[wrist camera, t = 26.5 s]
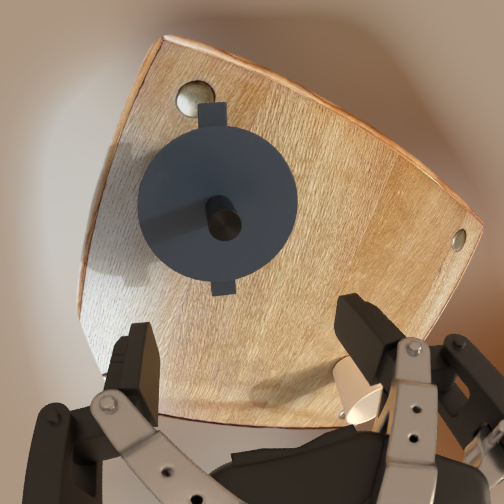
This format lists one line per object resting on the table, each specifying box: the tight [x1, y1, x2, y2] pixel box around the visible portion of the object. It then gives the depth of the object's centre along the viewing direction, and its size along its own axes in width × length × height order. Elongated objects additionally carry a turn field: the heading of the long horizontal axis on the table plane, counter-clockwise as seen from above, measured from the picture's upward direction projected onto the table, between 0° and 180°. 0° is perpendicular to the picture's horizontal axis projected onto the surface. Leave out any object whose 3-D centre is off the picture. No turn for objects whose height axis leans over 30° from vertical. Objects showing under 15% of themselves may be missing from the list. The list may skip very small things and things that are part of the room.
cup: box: [333, 356, 383, 424], centre depth 45 cm, size 10×10×11 cm
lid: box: [137, 126, 298, 282], centre depth 22 cm, size 14×14×6 cm
